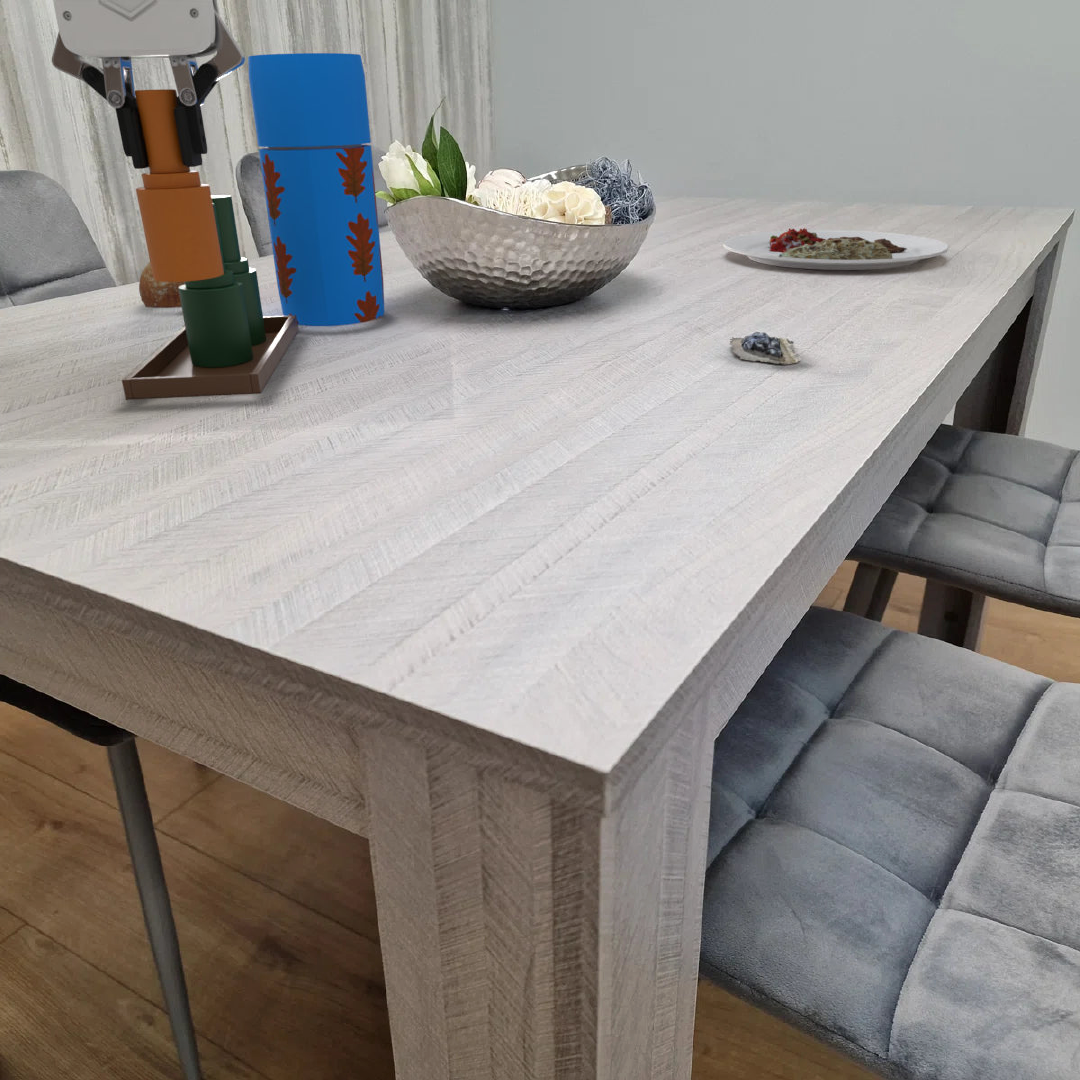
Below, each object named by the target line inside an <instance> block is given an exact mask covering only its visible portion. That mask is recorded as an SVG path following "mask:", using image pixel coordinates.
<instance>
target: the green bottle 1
mask: <svg viewBox="0 0 1080 1080" xmlns="http://www.w3.org/2000/svg"><path fill="white" fill-rule="evenodd" d="M212 204H213V210H214V216H215V222H216V228H217V234H218V240H219V246H220V252H221V258H222V264H223V270H224V274H223V275H221V276H219V277H215V278H211V279H205V280H197V281H186V282H185V284H184V285H181V286H179V288H178V290H179V295H180V301H181V307H180V308H181V311H182V317H183V323H184V325H185V329H186V334H187V340H188V345H189V351H190V356H191V362H192V364H193V365H195V366H198V367H205V368H219V367H229V366H235V365H240V364H243V363H246V362H249V361H251V360H252V359H253V352H252V345H251V339H250V332H249V326H248V319H247V313H246V306H245V299H244V293H243V286H242V283H241V282H239V281H234V275H233V271H231V270H225V265H224V259H223V253H222V246H221V240H220V234H219V227H218V221H217V215H216V208H215V204H214V203H212Z"/></svg>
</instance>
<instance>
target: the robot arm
mask: <svg viewBox="0 0 1080 1080" xmlns="http://www.w3.org/2000/svg"><path fill="white" fill-rule="evenodd" d="M52 2H53V7H54V13H55V18H56V24H57V27H58V33H57V37H56V40H55V45H54V48H53V53H52V56H51V63H52V65H53V68H55V69H57V70H58V71H60V72H63V73H65V74H67V75H69V76H71V77H72V78H76V79H77V80H80V81H82V82H85V83H86V84H87V85H88V86H89V87H90V88H91V89H93V90H94V91H95V92H96V93H97V94H98V95H100V96H101V97H102V98H103V99H105V101H106V102H107V103H108V105H109V106H110V107H112V108H114V109H115V114H116V120H117V124H118V127H119V128H118V129H119V134H120V139H121V144H122V149H123V153H124V154H125V156H126V157H131V161H132V165H133V168H134V169H135V170H139V169H140V170H141V169H149V164H148V159H147V154H146V149H145V143H144V138H143V133H142V128H141V122H140V117H139V112H138V107H137V101H136V96H135V91H136V90H135V81H134V72H133V65H132V60H153V59H168V60H169V64H170V67H171V71H172V75H173V79H174V83H175V87H176V92H177V103H178V106H177V107H176V109H174V116H175V121H176V127H177V133H178V138H179V144H180V150H181V155H182V161H183V164H184V165H186V166H187V167H190V168H195V167H198V166H202V165H203V157H202V155H207V154H208V144H207V138H206V132H205V125H204V119H203V113H202V112H203V111H202V107H201V106H202V105H204V103H205V101H206V98H207V97H208V95H209V94H210V93H211V91H212V90H213V89H214V87H215V86H216V85H217V84H218V82H219V81H220V80H221V79H223V78H224V77H226V76H228V75H229V74H230V73H232V72H234V71H235V70H237V69H239V68H240V67H241V66H243V65H244V64H245V61H246V57H245V54H244V53H243V51H242V49H241V48H240V46H239V45H238V43H237V41H236V39H235V38H234V37H233V35H232V33H231V32H230V30H229V29H228V27H227V25H226V23H225V22H224V20H223V19H222V17H221V15H220V14H221V13H220V9H219V4H218V0H53V1H52ZM213 54H215V55H214V56H213V57H212V58H211V59H209V60H208V61H206V62H205V63H202V64H201V65H200V66H198V62H197V59H196V58H203V57H204V58H205V57H209V56H212V55H213ZM83 57H88V58H97V59H101V64H102V65H101V66H102V67H99V66H97V65H94V64H92V63H90V62H89V61H87V60H85V59H84V58H83Z"/></svg>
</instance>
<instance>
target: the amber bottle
mask: <svg viewBox="0 0 1080 1080" xmlns="http://www.w3.org/2000/svg"><path fill="white" fill-rule="evenodd" d="M177 97H178V91H177V89H175V88H173V89H170V88H169V89H167V88H165V89H164V88H163V89H162V88H161V89H137V90H135V98H136V101H137V107H138V112H139V117H140V122H141V128H142V133H143V138H144V143H145V149H146V154H147V159H148V164H149V167H148V169H149V172H143V173H141V178H142V183H143V186H142V187H141V186H140V187H137V188H135V192H136V193H135V194H136V197H137V203H138V207H139V213H140V217H141V223H142V228H143V233H144V238H145V244H146V248H147V253H148V259H149V262H150V264H151V269H152V274H153V279H154V280H156V281H162V282H186V281H197V280H205V279H211V278H215V277H219V276H221V275H223V274H224V270H223V264H222V258H221V252H220V246H219V240H218V234H217V228H216V222H215V216H214V210H213V204H212V198H211V196H212V192H211V185H210V184H206V183H201V178H200V172H199V170H191V169H190V168H191V167H187V166H186V165H184V164H183V161H182V155H181V150H180V144H179V138H178V133H177V127H176V121H175V116H174V109H176V107H177V106H178V103H177Z"/></svg>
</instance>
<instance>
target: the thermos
mask: <svg viewBox="0 0 1080 1080" xmlns="http://www.w3.org/2000/svg"><path fill="white" fill-rule="evenodd" d="M247 59H248V60H247V62H248V63H247V64H248V82H249V88H250V90H249V91H250V96H251V104H252V110H253V118H254V124H255V132H256V141H257V146H258V147H262V148H258V154H259V163H260V169H261V176H262V184H263V191H264V198H265V205H266V213H267V219H268V226H269V234H270V241H271V248H272V255H273V256H272V257H273V262H274V263H273V264H274V270H275V278H276V284H277V290H278V296H279V301H280V307H281V310H282V316H291V315H296V317H297V324H298V326H306V327H334V326H335V327H336V326H347V325H355V324H361V323H366V322H369V321H374V320H377V319H379V318H381V317H383V316H384V315H385V287H384V284H385V283H384V272H383V262H382V252H381V251H382V250H381V249H382V248H381V239H380V228H379V218H378V206H377V196H376V183H375V173H374V161H373V160H374V159H373V151H372V145H371V142H372V138H371V128H370V119H369V108H368V95H367V86H366V85H367V84H366V75H365V74H366V73H365V70H364V64H363V60H362V55H361V54H357V53H341V52H340V53H334V52H332V53H331V52H312V53H310V52H305V53H304V52H302V53H300V52H299V53H272V54H255V55H250V56H248V57H247Z"/></svg>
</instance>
